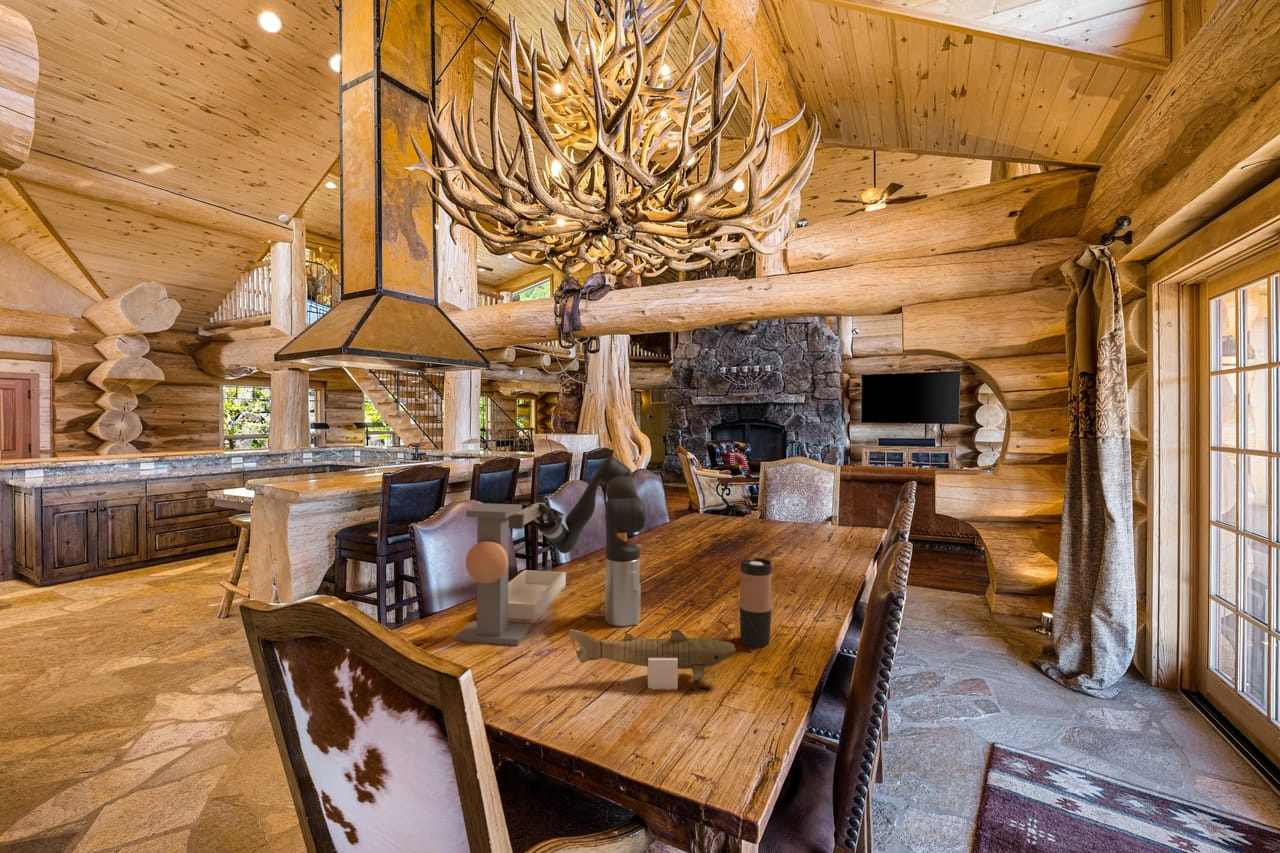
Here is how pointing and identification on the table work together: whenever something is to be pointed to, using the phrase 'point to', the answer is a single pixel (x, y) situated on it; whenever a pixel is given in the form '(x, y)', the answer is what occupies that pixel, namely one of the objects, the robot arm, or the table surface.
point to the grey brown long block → (525, 516)
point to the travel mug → (755, 602)
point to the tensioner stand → (492, 577)
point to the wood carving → (656, 654)
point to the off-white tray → (533, 594)
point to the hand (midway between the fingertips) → (534, 506)
